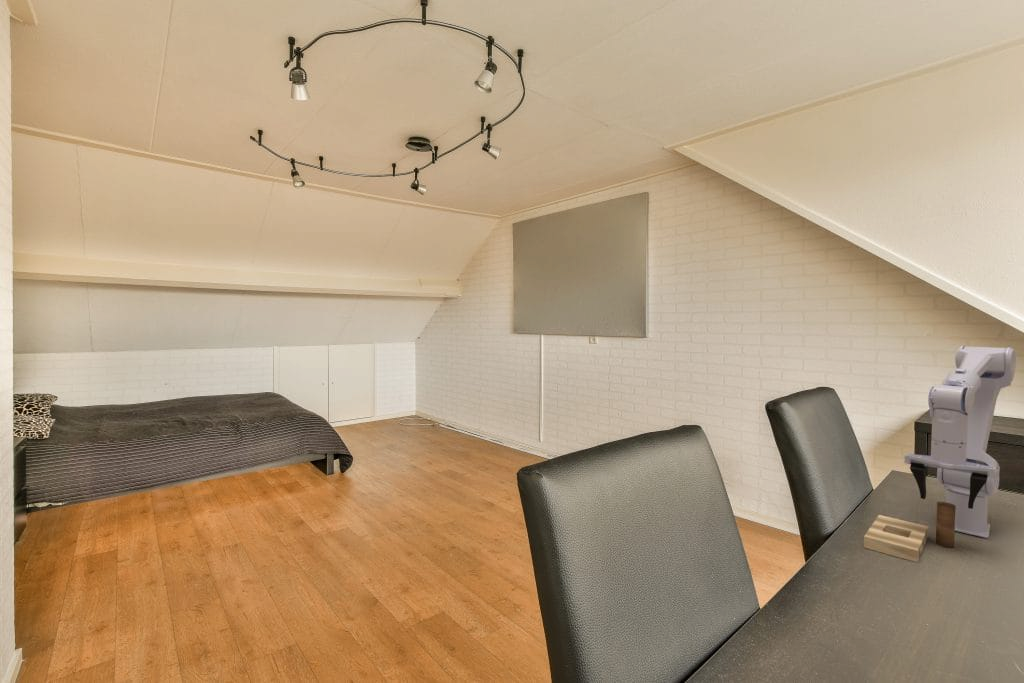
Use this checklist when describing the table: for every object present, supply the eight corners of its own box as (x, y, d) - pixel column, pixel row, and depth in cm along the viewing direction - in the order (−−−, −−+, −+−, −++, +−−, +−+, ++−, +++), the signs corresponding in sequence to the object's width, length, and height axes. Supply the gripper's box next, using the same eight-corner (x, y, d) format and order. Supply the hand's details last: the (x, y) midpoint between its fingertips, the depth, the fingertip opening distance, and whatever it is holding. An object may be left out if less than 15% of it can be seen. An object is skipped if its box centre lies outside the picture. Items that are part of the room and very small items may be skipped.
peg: (936, 540, 108) (938, 500, 108) (954, 544, 106) (956, 504, 106) (934, 544, 106) (936, 504, 106) (953, 549, 104) (955, 508, 103)
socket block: (878, 525, 116) (879, 514, 116) (927, 537, 110) (928, 526, 110) (863, 547, 105) (864, 536, 105) (917, 562, 99) (918, 550, 98)
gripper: (903, 438, 107) (900, 498, 108) (995, 450, 97) (992, 517, 98) (908, 432, 112) (906, 490, 113) (996, 444, 102) (993, 507, 102)
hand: (946, 502), depth 106 cm, fingers open, 7 cm apart
